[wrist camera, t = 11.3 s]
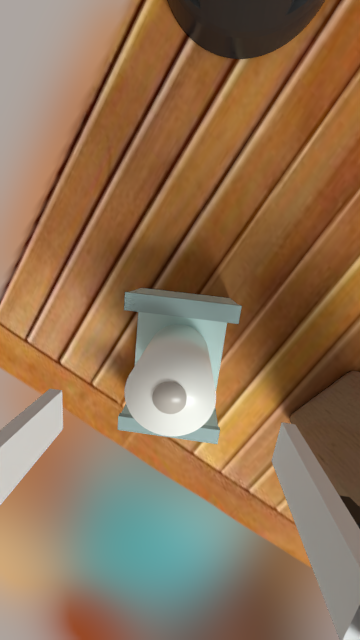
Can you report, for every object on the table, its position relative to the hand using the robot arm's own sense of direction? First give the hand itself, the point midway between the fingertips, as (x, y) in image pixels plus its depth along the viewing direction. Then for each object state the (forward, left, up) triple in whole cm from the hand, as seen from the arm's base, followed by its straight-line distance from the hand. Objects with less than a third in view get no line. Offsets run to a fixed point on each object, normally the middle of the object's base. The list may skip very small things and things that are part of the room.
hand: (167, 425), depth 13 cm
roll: (0, 0, -13) cm, 13 cm away
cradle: (0, 0, -14) cm, 14 cm away
